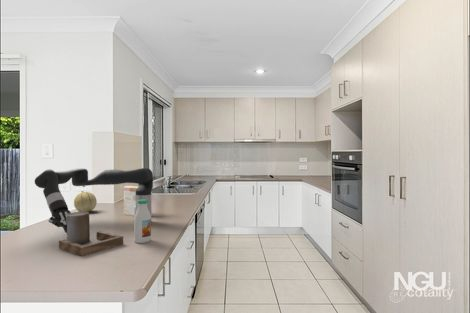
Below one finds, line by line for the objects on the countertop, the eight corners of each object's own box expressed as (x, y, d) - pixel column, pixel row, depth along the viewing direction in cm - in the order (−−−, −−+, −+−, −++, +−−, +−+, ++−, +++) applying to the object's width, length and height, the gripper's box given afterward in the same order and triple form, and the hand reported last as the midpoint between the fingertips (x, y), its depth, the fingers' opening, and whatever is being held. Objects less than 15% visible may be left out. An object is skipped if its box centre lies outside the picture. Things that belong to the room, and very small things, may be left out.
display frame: (59, 248, 132) (59, 240, 132) (100, 237, 149) (100, 230, 149) (81, 256, 123) (81, 247, 123) (123, 243, 140) (123, 236, 140)
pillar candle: (92, 238, 148) (92, 208, 147) (85, 244, 138) (85, 212, 138) (71, 239, 146) (71, 209, 146) (63, 245, 136) (62, 213, 136)
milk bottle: (135, 244, 139) (135, 201, 139) (133, 240, 146) (133, 199, 146) (152, 242, 143) (152, 200, 142) (149, 238, 149) (149, 198, 149)
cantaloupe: (90, 214, 205) (90, 192, 204) (69, 214, 205) (69, 192, 205) (100, 210, 219) (100, 190, 219) (80, 210, 220) (80, 189, 219)
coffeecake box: (146, 215, 204) (146, 186, 204) (137, 217, 198) (137, 187, 198) (131, 212, 212) (131, 185, 212) (123, 214, 206) (123, 186, 206)
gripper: (67, 206, 157) (79, 233, 150) (39, 210, 146) (51, 239, 139) (72, 197, 154) (85, 225, 147) (45, 200, 143) (57, 230, 136)
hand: (69, 232), depth 143 cm, fingers closed
